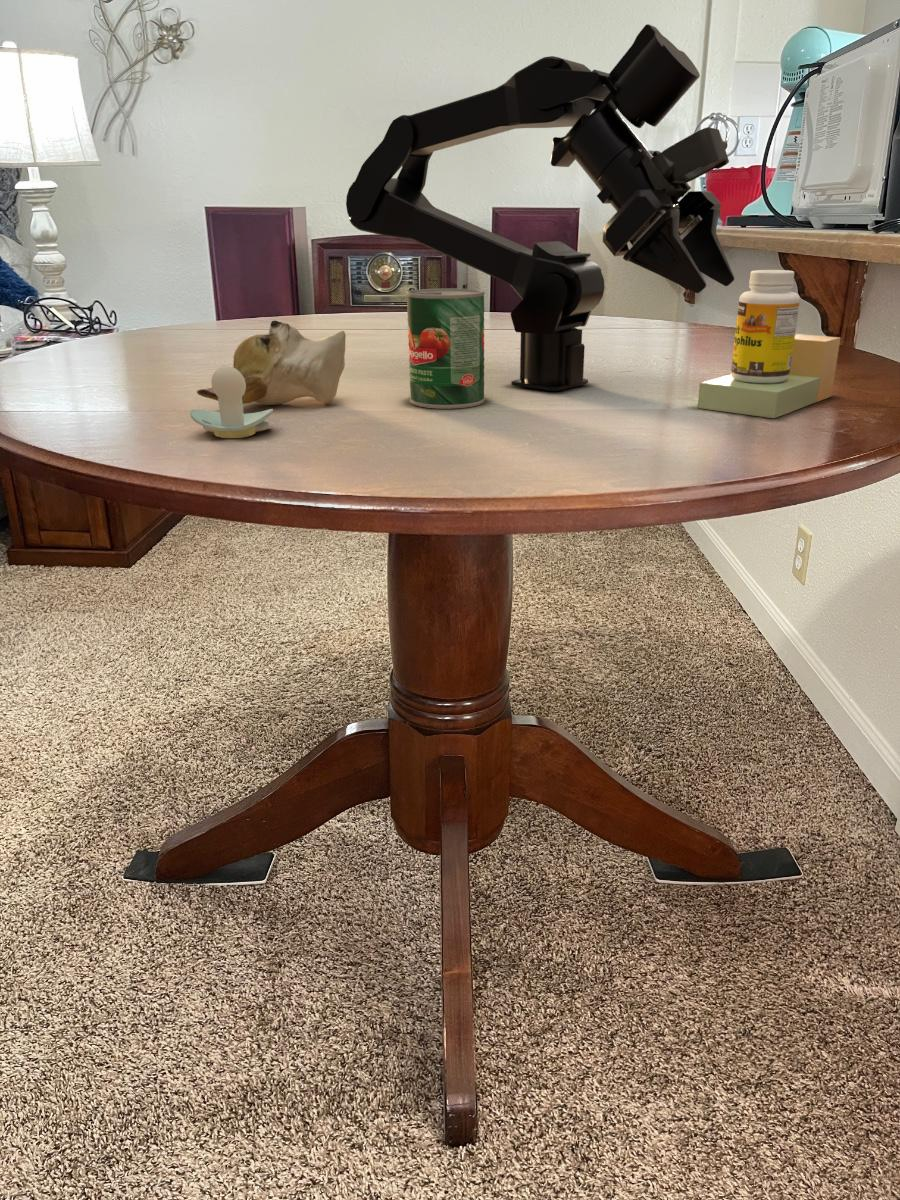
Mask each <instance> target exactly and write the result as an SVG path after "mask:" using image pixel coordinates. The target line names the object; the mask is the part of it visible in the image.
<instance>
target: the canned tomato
mask: <svg viewBox="0 0 900 1200" xmlns="http://www.w3.org/2000/svg"><path fill="white" fill-rule="evenodd" d="M405 293H406V302H407V303H406V304H407V305H406V306H407V309H406V312H407V332H408V333H407V338H408V342H407V343H408V344H407V345H408V363H409V367H408V369H409V370H408V371H409V393H410V394H409V395H410V397H409V402H410V403H411V405H414V406H416V407H420V408H427V409H439V410H440V409H442V410H448V409H449V410H451V409H465V408H466V409H467V408H472V407H477V406H480V405H482V404H484V403H485V401H486V400H485V399H486V398H485V293H486V292H485V290H482V289H477V288H476V289H475V288H447V287H446V288H422V289H421V288H420V289H413V290H408V291H406V292H405Z"/></svg>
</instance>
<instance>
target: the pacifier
mask: <svg viewBox="0 0 900 1200" xmlns="http://www.w3.org/2000/svg"><path fill="white" fill-rule="evenodd" d="M210 384H211V388H212V389H213V391H214V393H215V394H216V395H217V396H218V401H217V402H218V411H214V410H207V409H200V408H198V409H196V408H195V409H190V410H189V416H190V418H191V420H192V421H194V422H195V423H196V424H197V425H199V426H201V427H202V428H203V429H204V430H205V431H207V432H210V433H211V432H212V433H213V435H214V436H215V437H217V438H221V439H241V438H247V437H251V436H253V435H255V434H256V432H262V431H266V430H269V429H271V428H273V426H274V423H273V422H271V420H267V419H269V418H270V416H271V415H272V414H273V412H274V409H273V408H269V409H266V410H262V411H256V412H250V413H244V404H243V403H242V396H243V395H244V393H245V390H246V383H245V379H244V377H243V376H242V374H241V373H240V372H239V371H238V370H237V369H235V368H234V367H233V366H230V365H221V366H219V367H217V368H216V369H214V371H213V373H212V375H211V379H210Z"/></svg>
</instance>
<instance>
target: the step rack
mask: <svg viewBox="0 0 900 1200" xmlns="http://www.w3.org/2000/svg"><path fill="white" fill-rule="evenodd" d="M840 343H841V337H840V336H828V335H816V334H815V335H813V334H801V333H795V339H794V345H793V352H792V359H791V366H790V373H789V377H788V378H787V379H786V380H785V381H783V382H779V383H769V384H759V383H748V382H742V381H738V380H736V379H734V378H733V377H732V375H731V373H729V374H726V375H722V376H720V377H716V378H712V379H708V380H704V381H702V382H699V388H698V396H697V397H698V398H697V400H698V401H697V409H700V410H701V409H702V410H709V411H716V412H724V413H731V414H738V415H746V416H752V417H753V416H754V417H758V418H759V417H760V418H767V419H777V418H779V417H782V416H784V415H787V414H789V413H792V412H794V411H797V410H799V409H802V408H805V407H807V406H810V405H813V404H815V403H818V402H821V401H823V400H826V399H828V398H831V397H832V395H833V388H834V383H835V376H836V369H837V363H838V357H839V351H840Z"/></svg>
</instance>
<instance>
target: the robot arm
mask: <svg viewBox="0 0 900 1200" xmlns="http://www.w3.org/2000/svg"><path fill="white" fill-rule="evenodd" d="M700 76H701V75H700V72H699V70H698V68H697V67H696V65H695V63H693V61H692V60H691V59H690V57H689V56H688V55H687V54H686V53H685V52H684V51H683V50H681V49H679V48H677V47H676V46H675V44H674V43H672V41H670V40H669V39H668V38H667V37H665V36H664V35H663V34H662V33H661V32H660V30H659V29H658V28H657V27H656V26H654V25H651V24H647V23H646V24H645V25H644V26H643V28H641V30H640V31H639V33H638V34H637V35H636V37H635V39H634V41H633V42H632V44H631V46H630V47H629V48H628V50H627V51H626V52H625V53H624V55H622V57H621V58H620V60H619V61H617V63H616V64H615V66H614V67H613V68H612V69H611V71H610V72H609V73H608V72H605V71H601V70H598V69H593V70H592V69H590V68H589V67H588V66H586V65H585V64H583V63H580V62H577V61H573V60H569V59H565V58H562V57H559V56H554V55H551V56H550V55H549V56H544V57H542V58H539V59H538V60H536V61H534V62H533V63H531V64H529V65H527V66H525V67H524V68H522V69H520V70H518V71H517V72H515V73H514V74H513V75H511V76H510V78H509V79H508V80H507V81H505V82H504V83H503V84H501V85H499V86H498V87H496V88H492V89H489V90H486V91H484V92H480V93H477V94H474V95H470V96H467V97H464V98H461V99H457V100H455V101H452V102H448V103H444V104H442V105H439V106H436V107H432V108H430V109H426V110H423V111H419V112H416V113H413V114H407V115H406V114H402V115H400V116H398V117H396V118H394V119H393V120H392V122H391V123H390V124H389V126H388V129H387V130H386V133H385V135H384V137H383V139H382V140H381V142H379V144H378V145H377V147H376V148H375V149H374V150H373V151H372V152H371V154H370V155H369V156H368V157H367V158H366V159H365V160H364V162H363V163H362V164H361V167H360V169H359V171H358V173H357V176H356V178H355V180H354V181H353V182H352V183H351V185H350V187H349V188H348V191H347V194H346V199H345V206H346V212H347V216H348V218H349V219H348V220H349V223H350V224H351V225H352V226H353V227H354V228H355V229H357V230H358V231H361V232H365V233H370V234H374V235H380V236H385V237H393V238H400V239H408V240H411V241H414V242H416V243H418V244H420V245H423V246H425V247H426V248H429V249H431V250H433V251H435V252H438V253H440V254H442V255H444V256H446V257H448V258H451V259H453V260H455V261H458V262H460V263H462V264H464V265H466V266H469V267H471V268H472V269H475V270H477V271H479V272H482V273H484V274H486V275H488V276H490V277H493V278H495V279H497V280H498V281H499V280H500V281H501V282H503V283H505V284H507V285H509V286H510V287H511V288H512V289H513V291H514V292H516V294H517V295H518V296H519V297H520V299H521V301H519V303H518V304H517V305H516V306H515V307H514V308H513V310H511V312H510V318H511V322H512V325H513V328H514V329H513V330H514V332H515V333H520V348H519V349H520V350H519V351H520V352H519V353H520V354H519V360H520V361H519V379H514V380H511V381H510V385H511V386H514V387H521V388H528V389H535V390H541V391H542V390H543V391H548V392H549V391H550V392H559V391H563V390H568V389H571V388H575V387H580V386H584V385H588V384H589V379H587V378H584V368H585V350H586V349H585V344H584V343H583V329H580V328H578V327H581V328H582V327H583V328H584V327H586V326H587V324H588V321H589V319H590V316H591V314H592V311H593V310H595V308H596V307H598V305H599V304H600V302H602V301H601V300H602V299H603V297H604V293H605V278H604V275H603V273H602V268H601V267H600V266H599V265H598V264H597V263H595V262H594V261H593V260H591V259H589V258H590V257H591V252H580V251H577V250H575V249H573V248H572V247H570V246H569V245H567V243H564V242H562V241H559V240H555V241H554V240H553V241H542V242H541V241H540V242H533V247H532V249H531V248H528V247H526V246H524V245H522V244H519V243H517V242H515V241H513V240H511V239H508V238H506V237H504V236H501V235H499V234H497V233H494V232H492V231H491V230H487V229H486V228H483V227H480V226H478V225H477V224H473V223H471V222H469V221H467V220H465V219H463V218H460V217H458V216H455V215H453V214H451V213H449V212H446V211H444V210H442V209H439V208H438V207H436V206H434V205H433V204H432V203H431V202H430V201H429V200H428V198H427V197H426V196H425V195H424V194H423V193H422V192H423V190H424V188H425V186H426V182H427V175H428V170H429V169H428V168H429V163H430V159H431V157H432V156H433V154H434V152H437V151H440V150H445V149H447V148H451V147H455V146H458V145H463V144H465V143H470V142H473V141H476V140H480V139H484V138H487V137H490V136H494V135H499V134H502V133H506V132H509V131H512V130H515V129H518V130H519V129H553V128H566V127H567V128H569V127H571V128H570V129H569V130H568V132H567V133H566V134H565V135H564V136H561V137H557V136H554V137H553V138H552V150H551V155H550V165H551V166H552V167H558V168H559V167H560V168H569V167H571V166H572V164H573V163H574V162H575V161H576V162H577V163H578V165H579V166H580V167H581V169H582V170H583V172H585V173H586V175H587V176H588V177H589V179H590V180H591V181H592V182H593V184H594V185H595V186H596V187H597V188H598V190H599V193H597V194H596V197H597V199H598V200H599V201H600V202H601V203H602V204H606V205H608V204H610V205H611V206H612V207H613V209H614V210H615V211H616V212H615V213H614V215H612V217H611V218H610V219H609V220H608V221H607V222H606V223H605V225H603V230H602V243H603V244H604V246H606V248H607V249H608V251H610V253H611V254H612V256H613V257H622V256H623V257H622V259H623V260H624V261H626V262H630V263H632V264H635V265H637V266H639V267H641V268H643V269H645V270H647V271H650V272H652V273H654V274H656V275H658V276H660V277H663V278H664V279H667V280H668V281H671V282H673V283H674V284H677V285H679V286H681V287H683V288H685V289H687V290H689V291H692V293H695V294H700V293H701V292H702V291H703V290H704V289H705V288H707V283H706V281H705V279H704V277H703V275H705V276H707V277H709V279H712V281H715V282H717V283H719V284H720V285H722V286H724V287H728V286H730V285H731V284H732V283H733V282H734V281H735V275H734V273H733V271H732V268H731V266H730V263H729V261H728V259H727V256H726V254H725V252H724V249H723V246H722V245H721V242H720V239H719V237H718V234H717V228H718V221H719V218H720V216H721V215H722V214H721V213H722V210H721V207H722V203H721V201H719V199H718V198H717V197H716V195H715V194H714V193H713V192H712V191H709V190H708V191H707V190H705V191H704V190H698V191H697V190H695V191H694V190H693V191H692V190H691V189H692V187H691V186H690V184H689V183H690V182H692V181H694V180H696V179H698V178H700V177H701V176H703V175H705V174H707V173H709V172H711V171H713V170H715V169H716V170H718V169H721V168H723V167H725V166H726V165H727V164H729V163H730V159H729V157H728V153H727V148H728V142H727V141H726V139H725V140H724V139H723V137H722V134H721V132H720V131H721V130H720V129H719V128H714V127H709V126H707V127H703V128H701V129H699V130H697V131H695V132H694V133H692V134H690V135H688V136H686V137H685V138H683V139H680V140H679V141H677V142H676V143H674V144H672V145H670V146H669V147H667V148H665V149H664V150H663V151H659V150H649V149H648V148H647V147H646V146H645V144H644V143H643V141H642V140H641V139H640V138H639V137H638V136H637V134H636V133H635V132H634V131H633V130H632V128H631V127H630V126H629V125H628V124H627V122H629V123H630V124H631V125H632V126H634V127H635V128H637V129H642V127H643V126H644V125H645V123H646V124H647V125H649V126H651V127H654V128H655V127H657V126H658V125H659V124H660V123H661V121H662V120H663V119H664V118H665V117H666V116H667V114H668V113H669V112H670V111H671V110H672V109H673V108H674V107H675V106H676V104H677V103H678V102H679V101H680V100H681V99H682V98H683V96H684V95H685V94H686V93H687V92H688V91H689V90H690V88H691V87H692V86H693V85H694V84H695V83H696V82H697V80H699V78H700ZM617 110H618V111H617ZM619 113H620V114H619ZM622 116H623V117H624V119H626V120H627V122H626V121H625V120H624V119H623V117H622ZM399 170H400V171H399ZM397 172H399V173H398V175H397V177H394V176H395V174H397ZM690 190H691V191H690ZM628 243H630V244H631V247H629V246H628Z"/></svg>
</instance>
